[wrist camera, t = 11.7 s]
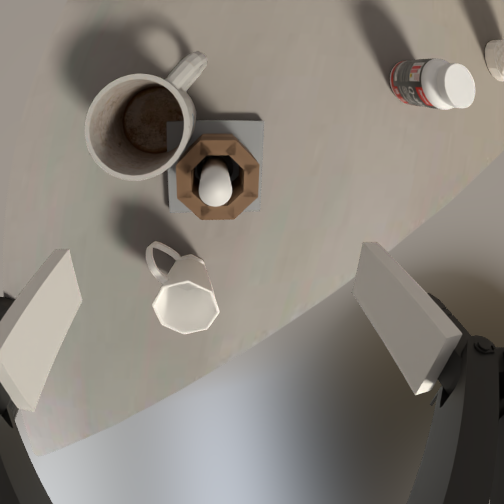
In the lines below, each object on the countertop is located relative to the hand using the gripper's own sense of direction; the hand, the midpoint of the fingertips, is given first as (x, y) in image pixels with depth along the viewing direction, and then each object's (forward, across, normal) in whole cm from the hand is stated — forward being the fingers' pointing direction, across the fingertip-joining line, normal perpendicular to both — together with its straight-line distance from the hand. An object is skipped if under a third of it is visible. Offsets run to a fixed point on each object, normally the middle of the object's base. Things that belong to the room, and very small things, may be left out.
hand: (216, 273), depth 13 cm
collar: (+21, 0, 0) cm, 21 cm away
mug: (+23, -5, +6) cm, 24 cm away
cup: (+22, -4, -12) cm, 26 cm away
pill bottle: (+22, +23, +12) cm, 34 cm away
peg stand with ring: (+22, 0, 0) cm, 22 cm away
